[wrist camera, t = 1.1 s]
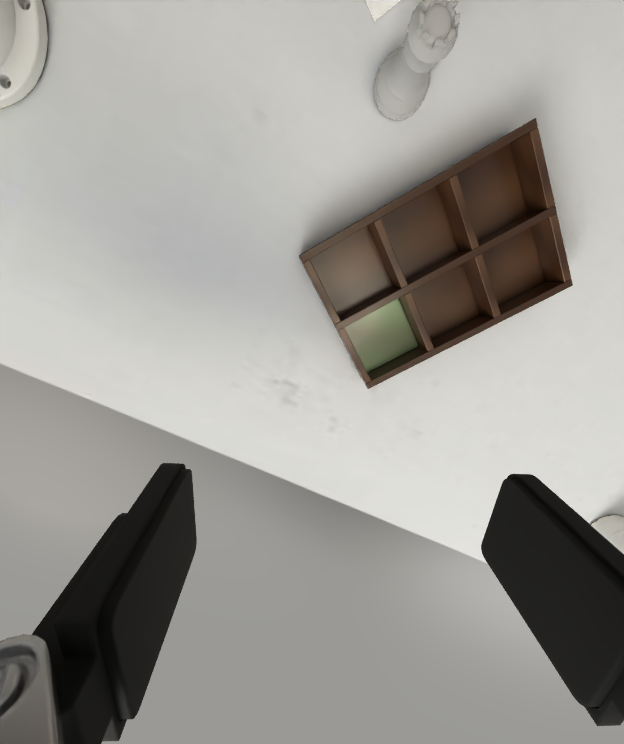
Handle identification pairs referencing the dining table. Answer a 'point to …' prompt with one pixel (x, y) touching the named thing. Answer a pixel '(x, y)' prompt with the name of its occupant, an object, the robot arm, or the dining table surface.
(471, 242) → the tray
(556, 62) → the dining table surface
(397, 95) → the rook chess piece
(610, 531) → the water bottle
